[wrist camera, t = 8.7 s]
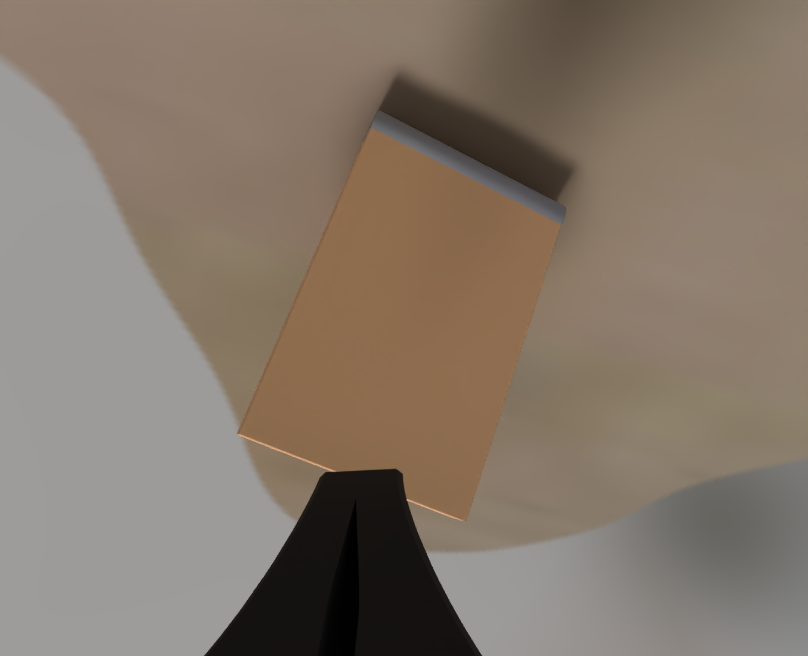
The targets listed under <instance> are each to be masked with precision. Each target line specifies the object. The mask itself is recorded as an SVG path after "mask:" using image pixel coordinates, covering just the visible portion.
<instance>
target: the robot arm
mask: <svg viewBox="0 0 808 656" xmlns="http://www.w3.org/2000/svg"><path fill="white" fill-rule="evenodd" d="M204 656H482V655H481V653H480V652H479V650H478V649H477V647H476V646H475V644H474V642H473V641H472V639H471V637H470V636H469V634H468V632H467V631H466V629H465V627H464V626H463V624H462V623H461V621H460V619H459V617H458V615H457V614H456V612H455V610H454V608H453V606H452V605H451V603H450V601H449V599H448V597H447V595H446V593H445V591H444V589H443V587H442V585H441V584H440V582H439V580H438V577H437V576H436V573H435V571H434V569H433V567H432V565H431V563H430V560H429V558H428V556H427V553H426V551H425V549H424V546H423V544H422V542H421V539H420V537H419V534H418V532H417V529H416V527H415V524H414V521H413V518H412V515H411V512H410V509H409V505H408V502H407V498H406V494H405V489H404V481H403V473H401V472H400V471H399V470H397V469H377V470H358V471H339V472H325V473H324V474H323V475H322V476H321V477H320V479H319V481H318V483H317V485H316V487H315V490H314V492H313V494H312V496H311V498H310V500H309V502H308V504H307V505H306V507H305V509H304V511H303V513H302V515H301V517H300V518H299V520H298V522H297V524H296V525H295V527H294V529H293V531H292V532H291V534H290V536H289V537H288V539H287V541H286V542H285V544H284V546H283V547H282V549H281V551H280V552H279V554H278V555H277V557H276V559H275V560H274V562H273V563H272V565H271V567H270V568H269V570H268V571H267V573H266V574H265V576H264V577H263V578H262V580H261V581H260V583H259V584H258V586H257V587H256V588H255V590H254V591H253V593H252V594H251V596H250V597H249V599H248V600H247V601H246V603H245V604H244V606H243V607H242V609H241V610H240V611H239V613H238V614H237V615H236V617H235V618H234V619H233V620H232V622H231V623H230V624H229V626H228V627H227V628H226V630H225V631H224V632H223V634H222V635H221V636H220V637H219V638H218V640H217V641H216V642H215V643H214V645H213V646H212V647H211V648H210V650H209V651H208V652H207V653H206V654H205V655H204Z"/></svg>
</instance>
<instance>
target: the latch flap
mask: <svg viewBox="0 0 808 656" xmlns="http://www.w3.org/2000/svg"><path fill="white" fill-rule="evenodd" d="M565 214H566V207H565V206H563V205H561V204H559V203H558V202H556V201H554V200H552V199H550V198H548V197H546V196H544V195H542V194H540V193H538V192H536V191H534V190H532V189H531V188H529V187H527V186H525V185H523V184H521V183H519V182H517V181H515V180H513V179H511V178H509V177H507V176H505V175H504V174H502V173H500V172H498V171H496V170H494V169H492V168H490V167H488V166H486V165H484V164H482V163H480V162H478V161H476V160H475V159H473V158H471V157H469V156H467V155H465V154H463V153H461V152H459V151H457V150H455V149H453V148H451V147H449V146H448V145H446V144H444V143H442V142H440V141H438V140H436V139H434V138H432V137H430V136H428V135H426V134H424V133H422V132H421V131H419V130H417V129H415V128H413V127H411V126H409V125H407V124H405V123H403V122H401V121H399V120H397V119H395V118H394V117H392V116H390V115H388V114H386V113H384V112H382V111H380V110H378V111H377V113H376V115H375V117H374V119H373V121H372V123H371V125H370V127H369V130H368V132H367V134H366V136H365V139H364V141H363V143H362V145H361V148H360V150H359V152H358V155H357V157H356V159H355V162H354V164H353V166H352V169H351V171H350V173H349V175H348V178H347V180H346V182H345V185H344V187H343V189H342V192H341V194H340V196H339V199H338V201H337V203H336V206H335V208H334V210H333V213H332V215H331V217H330V219H329V222H328V224H327V226H326V229H325V231H324V233H323V236H322V238H321V240H320V243H319V245H318V247H317V250H316V252H315V254H314V257H313V259H312V261H311V263H310V266H309V268H308V270H307V273H306V275H305V277H304V280H303V282H302V284H301V287H300V289H299V291H298V294H297V296H296V298H295V301H294V303H293V305H292V307H291V310H290V312H289V314H288V317H287V319H286V321H285V324H284V326H283V328H282V331H281V333H280V335H279V338H278V340H277V342H276V345H275V347H274V349H273V351H272V354H271V356H270V358H269V361H268V363H267V365H266V368H265V370H264V372H263V375H262V377H261V379H260V382H259V384H258V386H257V389H256V391H255V393H254V395H253V398H252V400H251V402H250V405H249V407H248V409H247V412H246V414H245V416H244V419H243V421H242V423H241V426H240V428H239V430H238V433H237V435H239V436H241V437H244V438H247V439H249V440H252V441H254V442H257V443H260V444H262V445H265V446H267V447H270V448H272V449H275V450H278V451H280V452H283V453H285V454H288V455H291V456H293V457H296V458H298V459H301V460H304V461H306V462H309V463H311V464H314V465H316V466H319V467H322V468H324V469H327V470H329V471H332V472H339V471H358V470H377V469H397V470H399V471H400V472H401V473H403V481H404V489H405V494H406V498H407V501H410V502H412V503H415V504H418V505H420V506H423V507H425V508H428V509H430V510H433V511H436V512H438V513H441V514H443V515H446V516H449V517H451V518H455V519H459V520H462V521H466V520H467V517H468V514H469V511H470V508H471V505H472V502H473V499H474V495H475V492H476V489H477V486H478V483H479V480H480V477H481V474H482V470H483V467H484V464H485V461H486V458H487V455H488V452H489V449H490V446H491V442H492V439H493V436H494V433H495V430H496V427H497V424H498V421H499V417H500V414H501V411H502V408H503V405H504V402H505V399H506V396H507V392H508V389H509V386H510V383H511V380H512V377H513V374H514V371H515V368H516V364H517V361H518V358H519V355H520V352H521V349H522V346H523V343H524V339H525V336H526V333H527V330H528V327H529V324H530V321H531V318H532V314H533V311H534V308H535V305H536V302H537V299H538V296H539V293H540V289H541V286H542V283H543V280H544V277H545V274H546V271H547V268H548V265H549V261H550V258H551V255H552V252H553V249H554V246H555V243H556V240H557V236H558V233H559V230H560V227H561V224H562V222H563V220H564V217H565Z"/></svg>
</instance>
